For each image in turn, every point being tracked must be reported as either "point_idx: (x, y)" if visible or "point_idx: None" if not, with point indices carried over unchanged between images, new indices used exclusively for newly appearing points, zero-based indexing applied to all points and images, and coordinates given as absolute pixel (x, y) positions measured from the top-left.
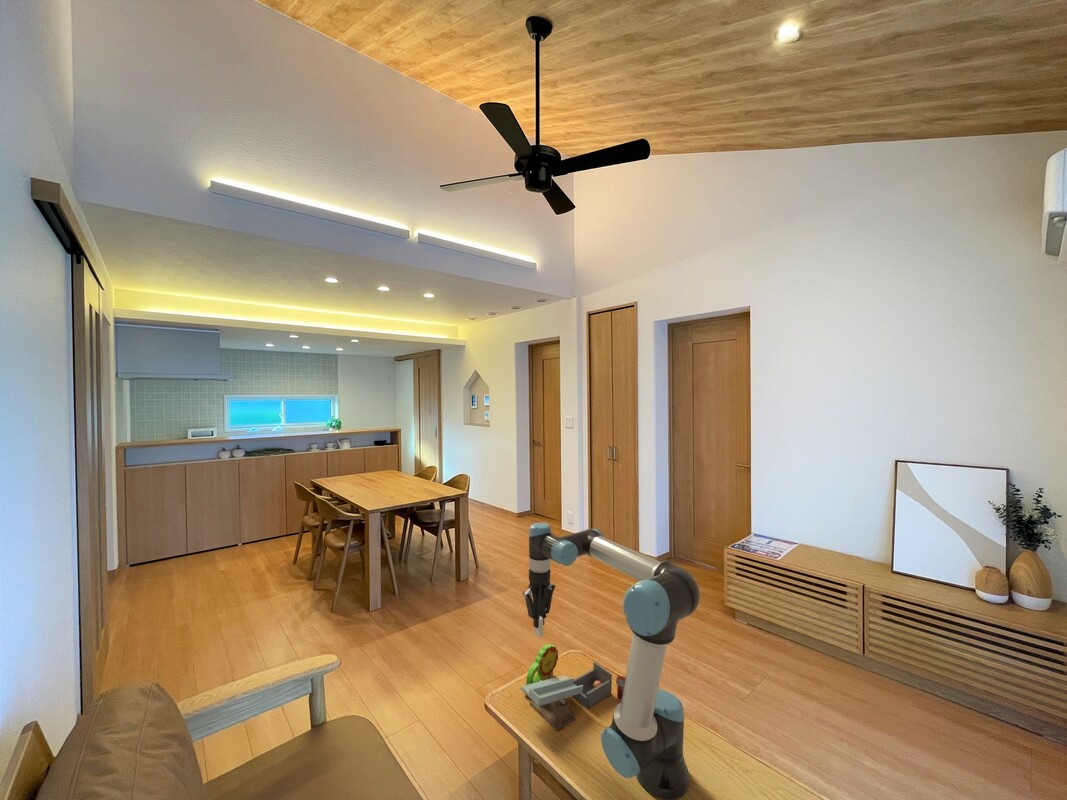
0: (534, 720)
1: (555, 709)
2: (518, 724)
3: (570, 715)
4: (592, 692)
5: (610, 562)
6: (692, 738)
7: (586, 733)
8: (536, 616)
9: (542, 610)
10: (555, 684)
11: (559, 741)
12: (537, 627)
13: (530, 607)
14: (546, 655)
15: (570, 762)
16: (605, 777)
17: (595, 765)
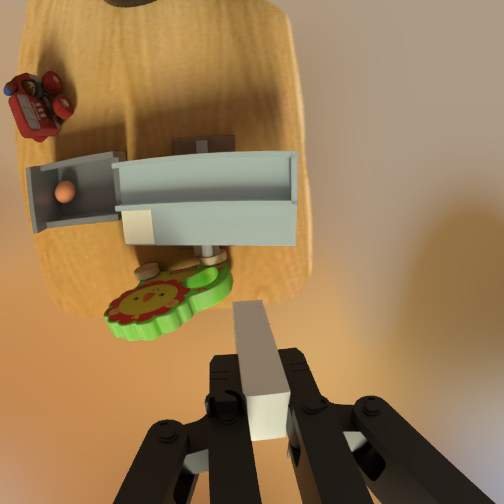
0: None
1: None
2: None
3: (178, 150)
4: (97, 154)
5: None
6: (40, 15)
7: (179, 94)
8: (333, 419)
9: (254, 467)
10: (188, 201)
11: (248, 110)
12: (285, 350)
13: (468, 479)
14: (152, 310)
15: (264, 59)
16: (229, 5)
17: (225, 29)
